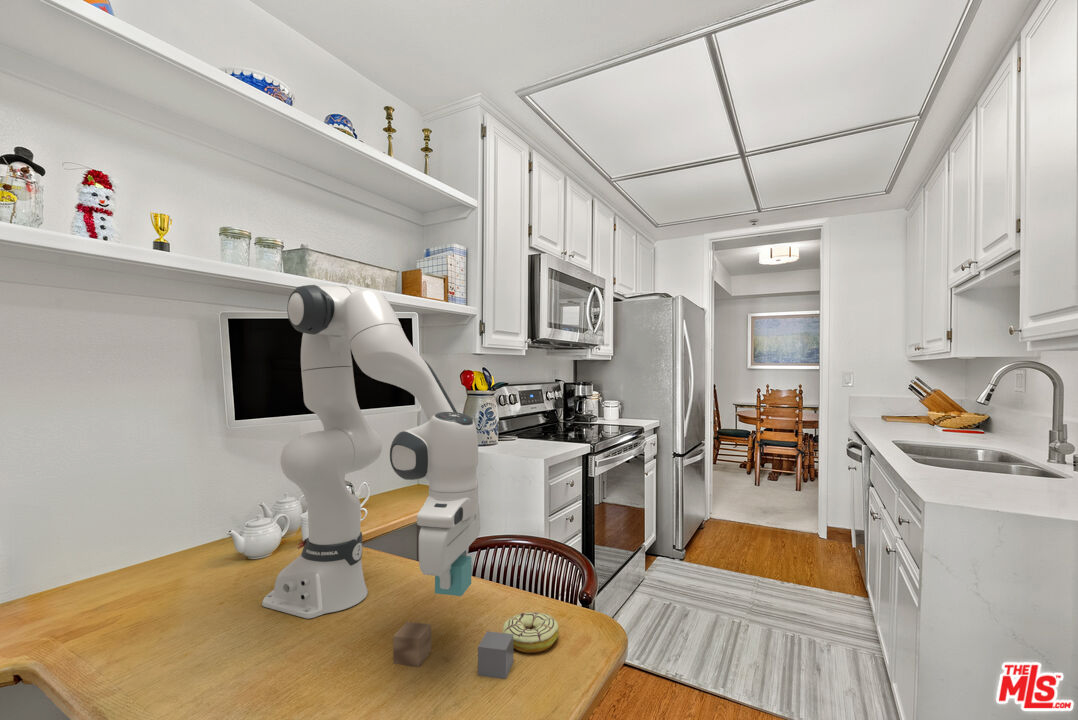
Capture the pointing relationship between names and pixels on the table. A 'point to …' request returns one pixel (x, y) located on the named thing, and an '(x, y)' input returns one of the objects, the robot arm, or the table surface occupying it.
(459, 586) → the teal cube
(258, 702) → the table surface
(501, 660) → the charcoal cube
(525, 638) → the decorated donut
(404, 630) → the walnut cube
